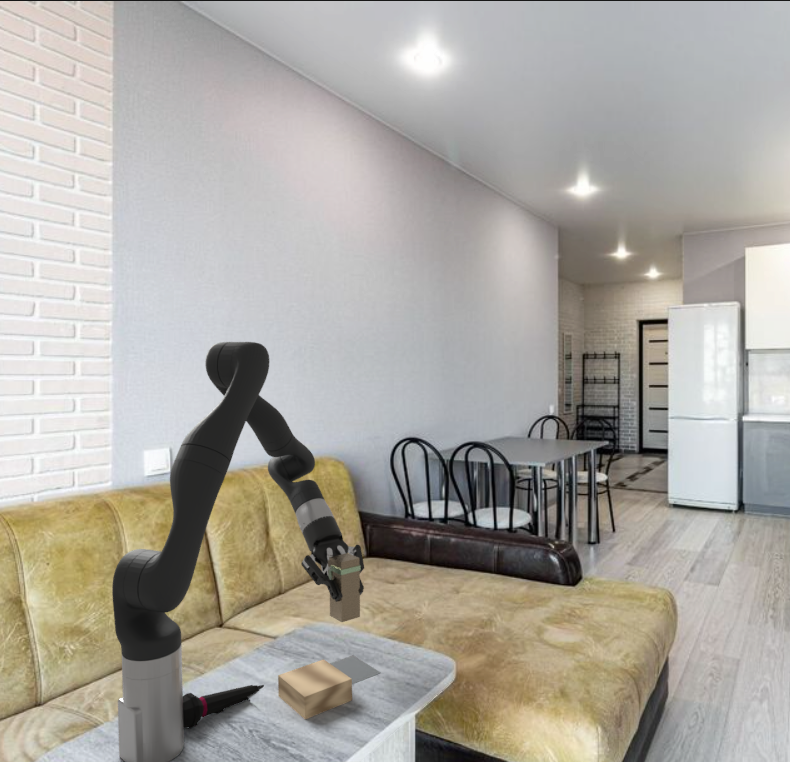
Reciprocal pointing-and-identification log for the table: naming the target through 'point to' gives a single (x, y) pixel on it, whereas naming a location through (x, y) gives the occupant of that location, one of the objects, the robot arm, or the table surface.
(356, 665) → the coaster
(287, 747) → the table surface
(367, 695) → the table surface
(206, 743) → the table surface
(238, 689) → the microphone
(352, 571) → the column
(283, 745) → the table surface
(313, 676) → the rest block
